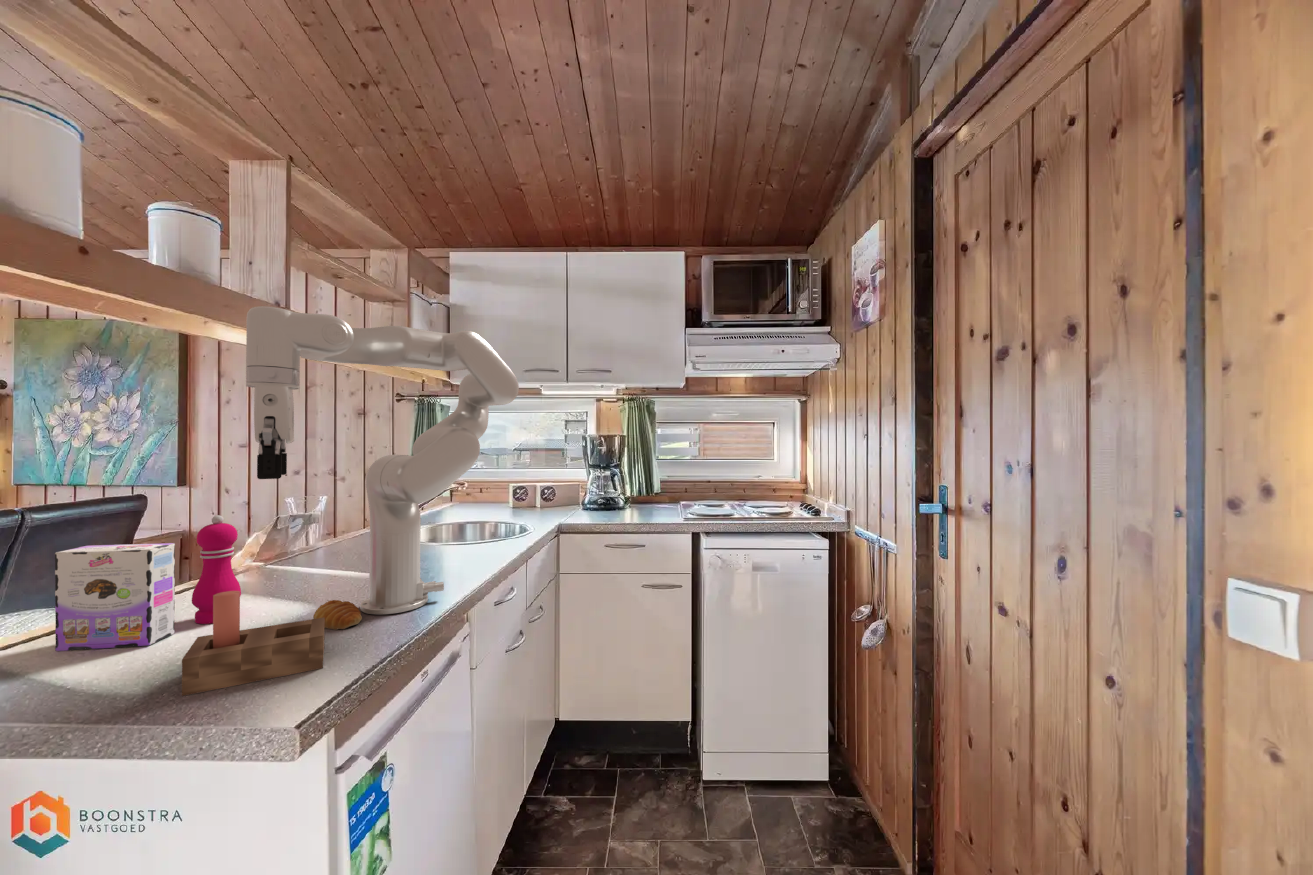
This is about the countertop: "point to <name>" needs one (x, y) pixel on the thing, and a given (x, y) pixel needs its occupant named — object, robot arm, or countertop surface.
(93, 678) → the countertop surface
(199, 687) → the hole block
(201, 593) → the pepper mill
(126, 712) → the countertop surface
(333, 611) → the pastry
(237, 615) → the peg
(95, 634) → the candy box
